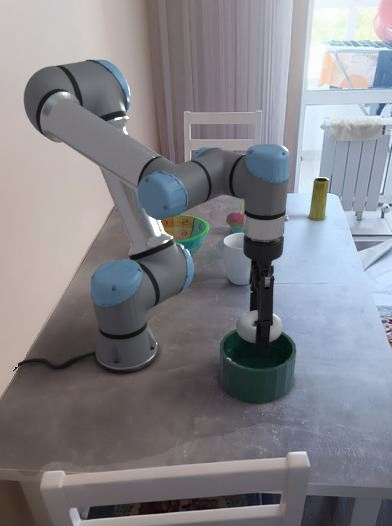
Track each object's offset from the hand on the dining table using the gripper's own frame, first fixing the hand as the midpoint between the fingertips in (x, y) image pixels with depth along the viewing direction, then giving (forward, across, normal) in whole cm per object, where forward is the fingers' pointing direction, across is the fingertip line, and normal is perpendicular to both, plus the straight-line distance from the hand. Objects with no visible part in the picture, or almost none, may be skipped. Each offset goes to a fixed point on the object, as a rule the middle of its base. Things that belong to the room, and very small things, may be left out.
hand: (258, 332), depth 103 cm
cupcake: (+13, +82, -4) cm, 83 cm away
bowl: (+13, +64, +19) cm, 68 cm away
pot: (+13, 0, 0) cm, 13 cm away
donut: (0, 0, 0) cm, 0 cm away
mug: (+13, +45, -2) cm, 47 cm away
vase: (+13, +92, -35) cm, 99 cm away
